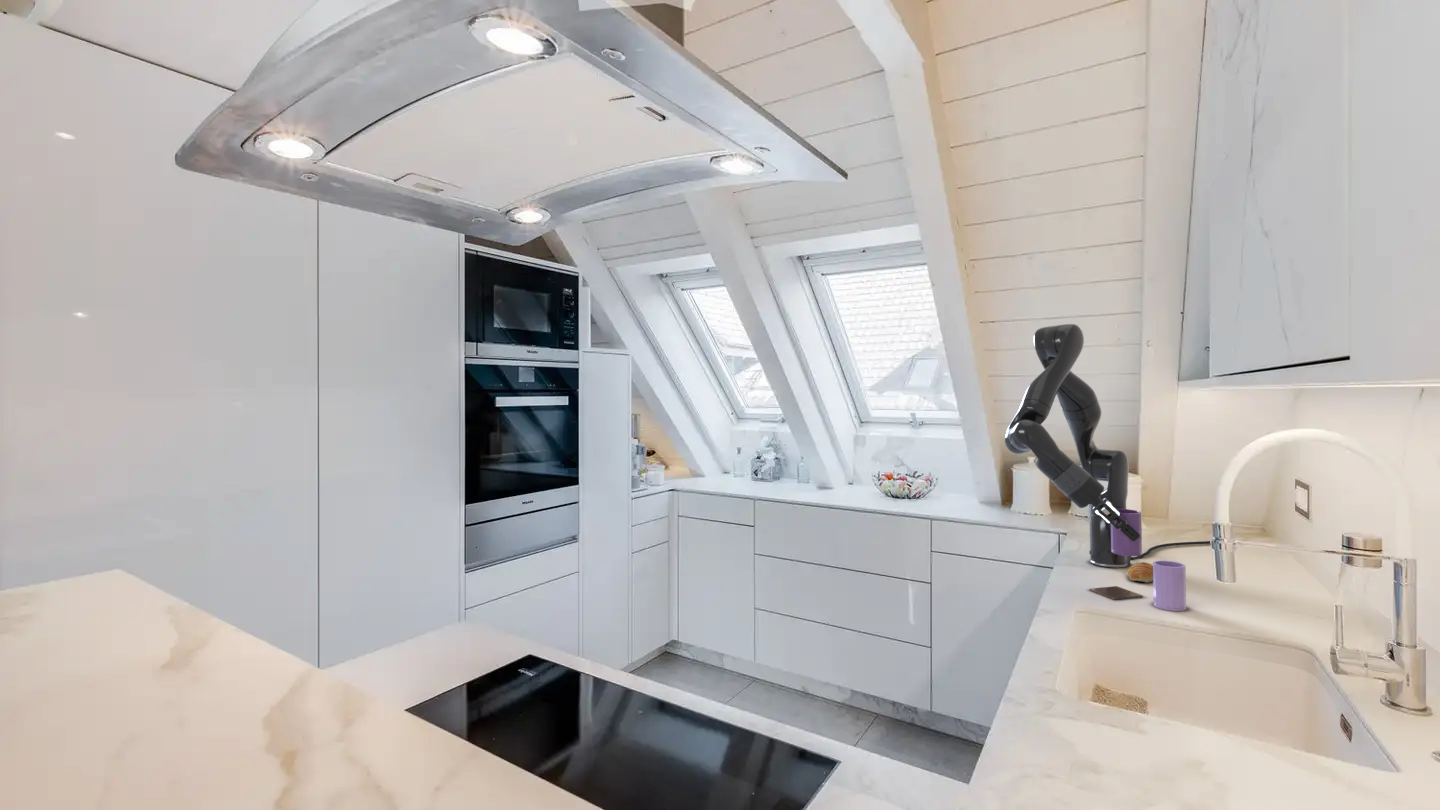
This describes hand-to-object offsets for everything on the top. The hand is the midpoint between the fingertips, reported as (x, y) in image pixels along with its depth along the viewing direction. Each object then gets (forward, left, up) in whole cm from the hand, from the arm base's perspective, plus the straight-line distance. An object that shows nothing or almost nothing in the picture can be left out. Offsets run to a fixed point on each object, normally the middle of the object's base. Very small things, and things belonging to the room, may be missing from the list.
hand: (1134, 535), depth 154 cm
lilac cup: (-5, +5, -16) cm, 17 cm away
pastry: (-17, -15, -16) cm, 28 cm away
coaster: (-1, -7, -16) cm, 17 cm away
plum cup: (+1, -1, -4) cm, 5 cm away
